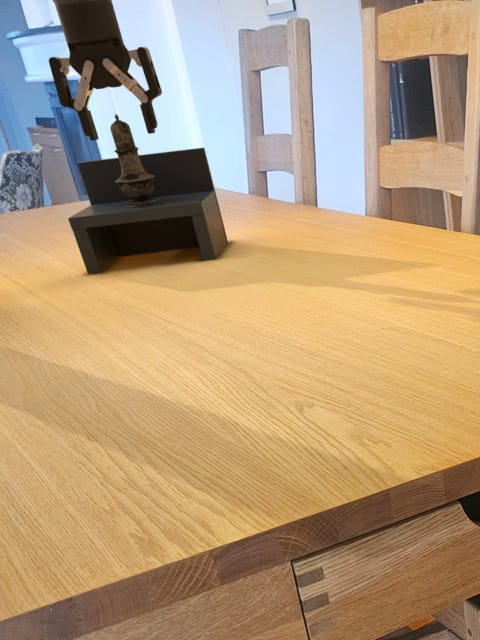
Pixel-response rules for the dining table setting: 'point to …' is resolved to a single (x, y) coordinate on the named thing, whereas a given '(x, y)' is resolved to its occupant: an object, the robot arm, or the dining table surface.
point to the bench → (149, 210)
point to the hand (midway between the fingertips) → (123, 136)
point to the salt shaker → (131, 167)
